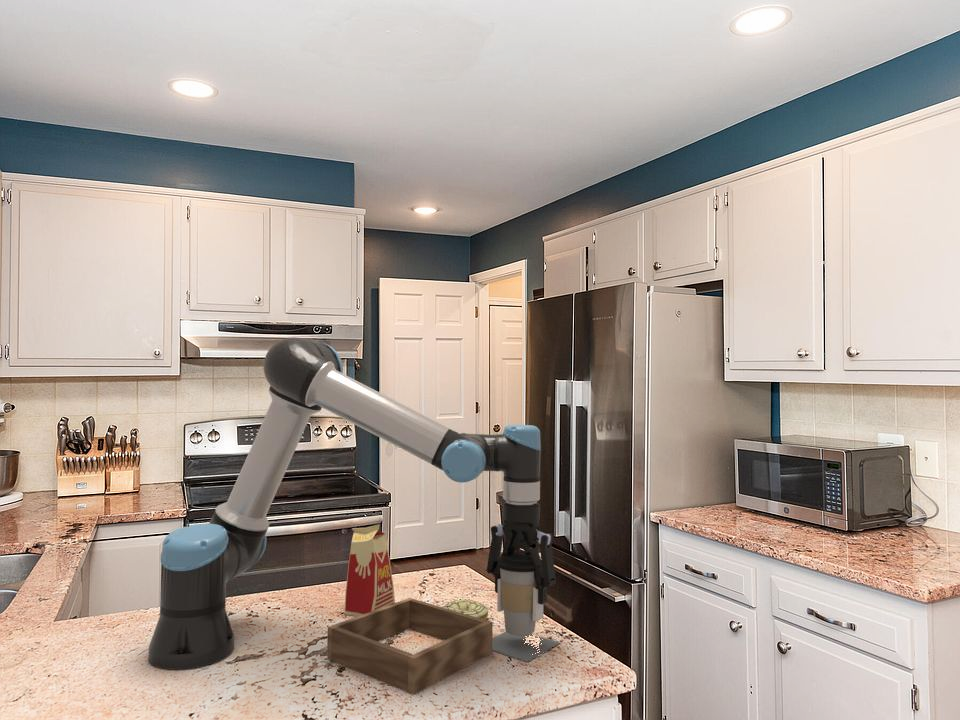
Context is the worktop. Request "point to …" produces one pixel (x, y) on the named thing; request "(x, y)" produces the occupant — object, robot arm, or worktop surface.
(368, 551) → the milk carton
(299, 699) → the worktop surface
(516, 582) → the coffee cup
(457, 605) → the decorated donut
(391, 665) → the frame
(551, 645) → the mat
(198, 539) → the robot arm
